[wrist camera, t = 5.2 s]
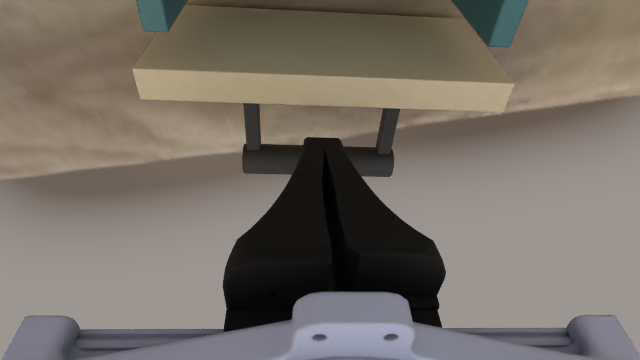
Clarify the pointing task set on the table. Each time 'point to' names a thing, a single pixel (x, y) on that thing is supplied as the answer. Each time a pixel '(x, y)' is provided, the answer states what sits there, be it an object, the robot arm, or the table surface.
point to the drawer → (326, 66)
